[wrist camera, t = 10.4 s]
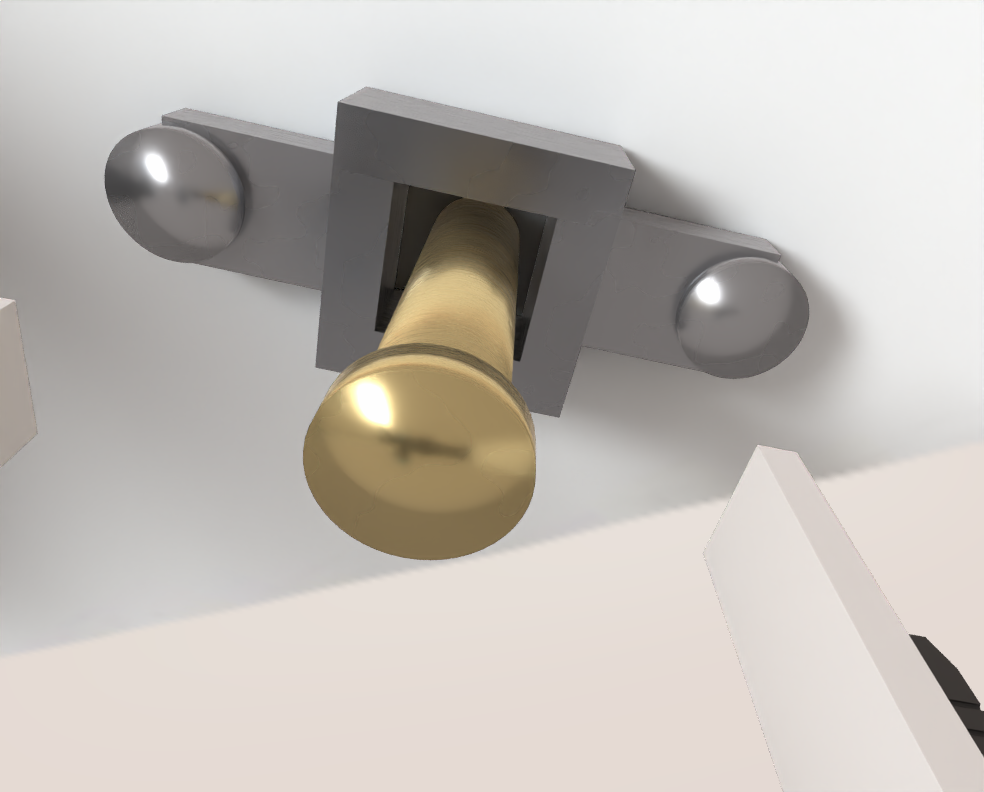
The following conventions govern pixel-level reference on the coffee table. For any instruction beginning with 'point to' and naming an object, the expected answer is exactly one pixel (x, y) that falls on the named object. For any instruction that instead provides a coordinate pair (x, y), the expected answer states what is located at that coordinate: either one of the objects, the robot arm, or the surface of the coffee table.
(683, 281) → the chain ends
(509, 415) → the pin
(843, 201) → the coffee table surface
